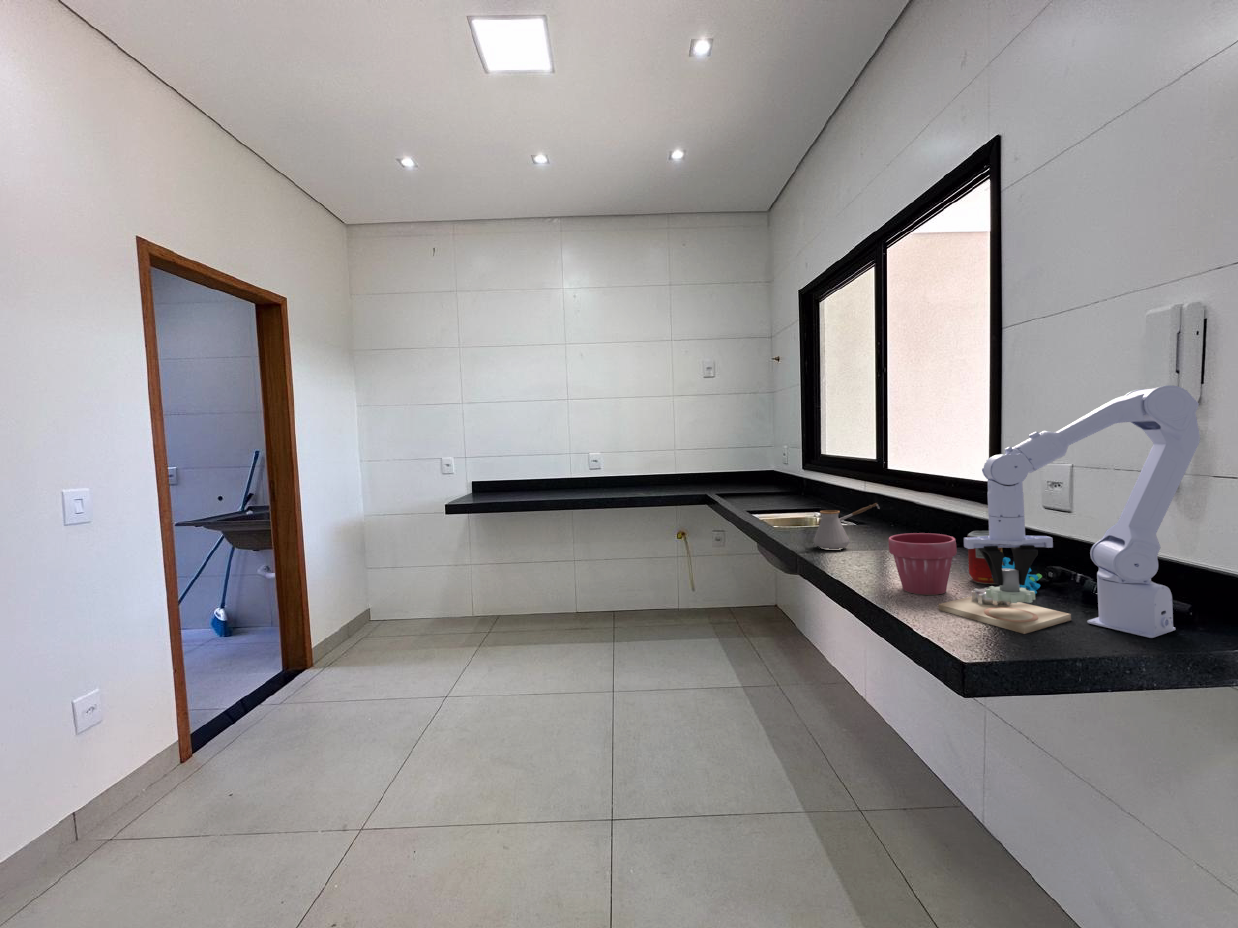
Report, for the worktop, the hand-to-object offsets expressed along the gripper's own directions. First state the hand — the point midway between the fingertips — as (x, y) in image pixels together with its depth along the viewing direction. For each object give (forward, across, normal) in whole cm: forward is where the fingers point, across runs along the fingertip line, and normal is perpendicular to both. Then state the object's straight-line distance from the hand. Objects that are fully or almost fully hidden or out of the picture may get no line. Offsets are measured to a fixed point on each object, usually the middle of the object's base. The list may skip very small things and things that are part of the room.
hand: (1008, 583), depth 104 cm
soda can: (+8, +7, +30) cm, 31 cm away
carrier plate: (+7, 0, +4) cm, 8 cm away
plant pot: (+8, -9, +22) cm, 25 cm away
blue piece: (+8, +10, +20) cm, 23 cm away
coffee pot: (+8, -17, +72) cm, 74 cm away
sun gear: (+6, 0, +9) cm, 11 cm away
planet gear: (+3, 0, 0) cm, 3 cm away
